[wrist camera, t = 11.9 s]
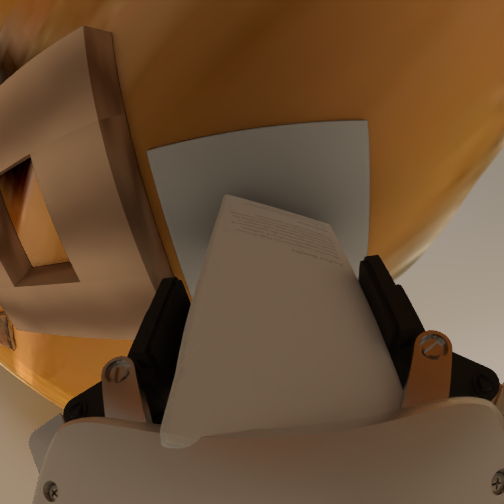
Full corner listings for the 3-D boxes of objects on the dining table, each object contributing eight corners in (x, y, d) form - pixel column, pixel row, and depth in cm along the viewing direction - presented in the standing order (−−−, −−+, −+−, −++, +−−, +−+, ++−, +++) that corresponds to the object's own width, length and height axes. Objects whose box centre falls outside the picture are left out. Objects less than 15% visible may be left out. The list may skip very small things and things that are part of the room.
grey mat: (149, 149, 14) (146, 151, 14) (364, 119, 13) (367, 120, 12) (199, 310, 20) (198, 314, 20) (361, 293, 19) (362, 297, 19)
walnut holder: (-39, 144, 12) (-60, 155, 10) (111, 32, 10) (83, 25, 8) (30, 312, 23) (17, 330, 20) (187, 310, 20) (178, 340, 18)
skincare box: (208, 257, 16) (151, 474, 6) (225, 186, 14) (140, 438, 4) (307, 282, 17) (335, 490, 6) (337, 218, 14) (426, 448, 4)
